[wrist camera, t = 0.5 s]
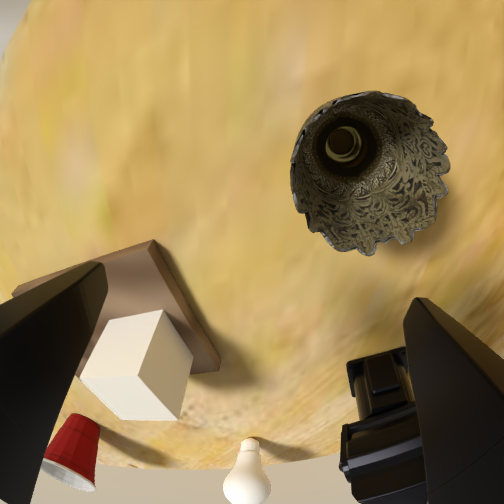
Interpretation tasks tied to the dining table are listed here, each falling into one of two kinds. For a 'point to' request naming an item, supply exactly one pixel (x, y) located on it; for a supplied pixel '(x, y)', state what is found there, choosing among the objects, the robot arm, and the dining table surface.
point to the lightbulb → (247, 476)
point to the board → (144, 300)
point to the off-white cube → (140, 367)
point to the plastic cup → (74, 453)
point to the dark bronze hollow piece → (368, 172)
